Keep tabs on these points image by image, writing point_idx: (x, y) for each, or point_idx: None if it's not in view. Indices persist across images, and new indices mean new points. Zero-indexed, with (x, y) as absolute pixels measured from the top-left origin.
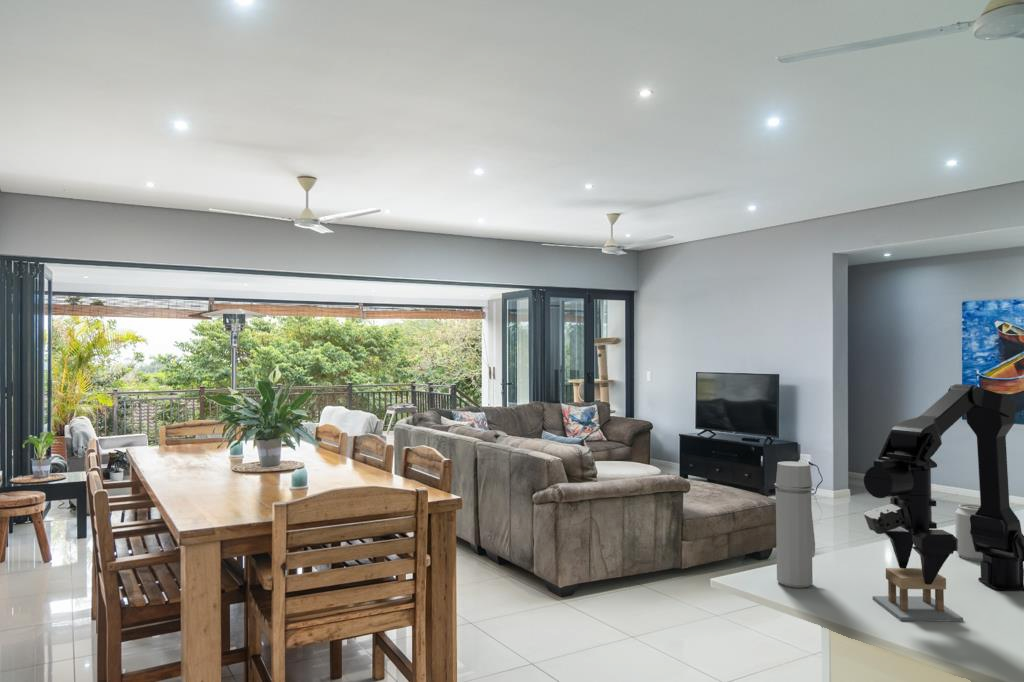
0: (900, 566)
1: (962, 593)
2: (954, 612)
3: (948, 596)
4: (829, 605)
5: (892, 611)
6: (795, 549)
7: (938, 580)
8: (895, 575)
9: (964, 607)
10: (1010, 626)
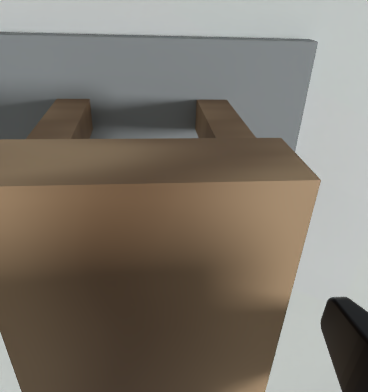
0: (338, 309)
1: (300, 379)
2: None
3: (283, 342)
4: None
5: (47, 35)
6: None
7: None
8: (90, 178)
9: None
10: (8, 389)
